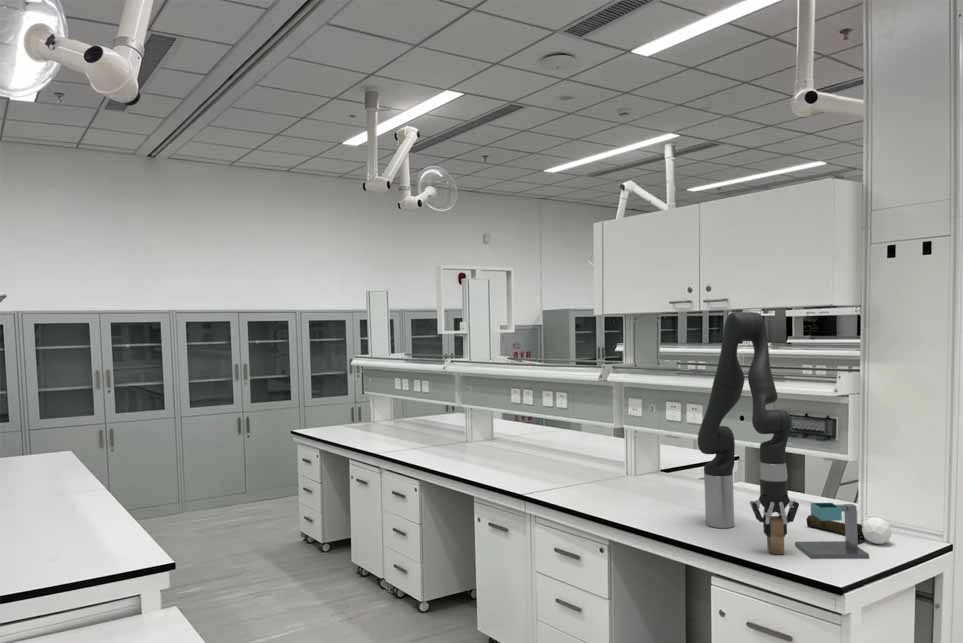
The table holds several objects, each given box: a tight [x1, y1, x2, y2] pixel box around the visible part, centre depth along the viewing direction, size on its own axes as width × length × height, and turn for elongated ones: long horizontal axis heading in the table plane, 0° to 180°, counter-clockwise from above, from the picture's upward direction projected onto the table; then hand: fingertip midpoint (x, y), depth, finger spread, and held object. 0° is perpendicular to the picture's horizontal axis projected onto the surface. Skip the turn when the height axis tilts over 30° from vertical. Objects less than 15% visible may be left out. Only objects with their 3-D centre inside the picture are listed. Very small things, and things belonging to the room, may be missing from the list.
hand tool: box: [806, 514, 867, 540], centre depth 219 cm, size 19×4×5 cm, turn 29°
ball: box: [862, 516, 892, 545], centre depth 208 cm, size 8×8×8 cm
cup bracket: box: [794, 502, 870, 560], centre depth 201 cm, size 12×16×14 cm
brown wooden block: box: [766, 515, 785, 555], centre depth 201 cm, size 4×4×10 cm
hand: (775, 535), depth 201 cm, fingers closed on brown wooden block, 3 cm apart
